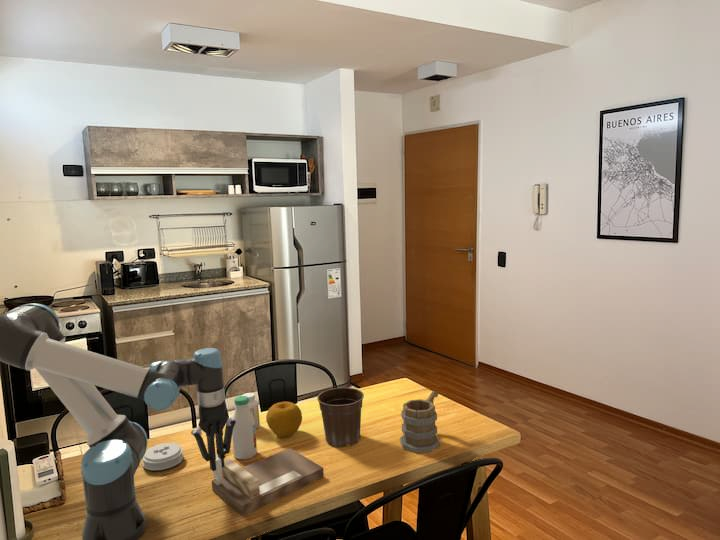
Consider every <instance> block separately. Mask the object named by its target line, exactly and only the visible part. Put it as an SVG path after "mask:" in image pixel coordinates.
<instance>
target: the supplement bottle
mask: <svg viewBox="0 0 720 540" xmlns="http://www.w3.org/2000/svg"><path fill="white" fill-rule="evenodd" d="M241 396H247V397H248V398H249V404H248V406H249V409H250V411H251V413H252V415H253V417H254V421H255V430H257V429H259V428H260V426H261V423H260V412H259V402H258V400H257V399H256V394H255V393H253V392H247V393H243V394H242V395H241Z"/></svg>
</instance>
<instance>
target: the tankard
mask: <svg viewBox="0 0 720 540" xmlns="http://www.w3.org/2000/svg"><path fill="white" fill-rule="evenodd" d="M438 396H439V392H438V391H435V390H432V391H431V392H430V394H429V396H428V397H427V399H410V400H408V401H406V402H405V403H402V404H403V405H402V410H401V413H400V414H401V418H402V421H403V423H402V424H401V432H402V434H403V435H401V436H400V437H399V442H400V445H401V447H402V449H403V450H405V451H409V452H412V453H414V454H415V453H416V454H421V453H430V452H433V451H435V449H437V448H438V447H439V446H440V444H441V443H440V440H439V438H438V436H437V434H438V427H437V425H436V421H438V413H437V411H436V405H435V404H434V400H435V398H438Z"/></svg>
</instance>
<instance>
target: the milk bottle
mask: <svg viewBox="0 0 720 540" xmlns="http://www.w3.org/2000/svg"><path fill="white" fill-rule="evenodd" d="M248 404H249V398H248V397H247V396H242V395H240V396H236V397H235V398H234V406H235V409H234V413H233V415H232V417H231V418H232V419H233V420H235V421H236V423H235V425H234V428H233V432H232V439H231V441H232V452H233V457H234V458H235V459H238V460H241V459H242V460H250V459H251V458H254V457H255V456H256V455H257V453H258V446H257V432H256V430H257V429H255V421H254V417H253V415H252V413H251V411H250V409H249V406H248Z"/></svg>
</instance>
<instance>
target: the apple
mask: <svg viewBox="0 0 720 540" xmlns="http://www.w3.org/2000/svg"><path fill="white" fill-rule="evenodd" d="M265 419H266V420H265V421H266V423H267V425H268V428H269V429H270V430H271V431H272V433H273V434H274V435H275V436H277V437H280V438H283V439H284V438H286V439H288V438H292V437H293V436H295V435H296V434H297V433H298V430H299V428H300V426H301V425H302V420H303V414H302V411H301V409H300V407H299V405H297V404H296V403H294V402H291V401H281V402H280V401H279V402H276V403H274V404H272V405H271V407H269V408H268V410H267V412H266V417H265Z"/></svg>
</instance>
